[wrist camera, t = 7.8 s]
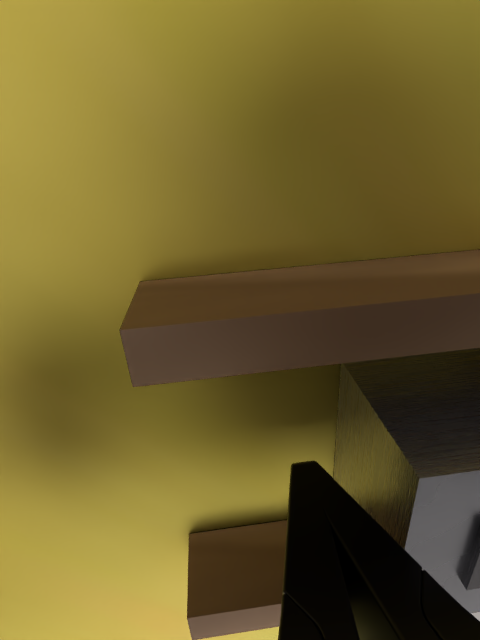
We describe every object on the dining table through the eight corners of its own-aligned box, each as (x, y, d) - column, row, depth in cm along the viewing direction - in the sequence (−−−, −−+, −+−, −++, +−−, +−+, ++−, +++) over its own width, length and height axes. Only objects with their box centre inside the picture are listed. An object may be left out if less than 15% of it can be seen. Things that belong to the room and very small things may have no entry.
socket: (474, 466, 13) (591, 603, 9) (333, 486, 12) (392, 636, 9) (511, 340, 10) (688, 451, 7) (341, 360, 10) (425, 487, 6)
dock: (489, 512, 14) (563, 605, 11) (193, 555, 13) (192, 666, 10) (585, 239, 9) (751, 279, 7) (140, 281, 9) (111, 347, 6)
